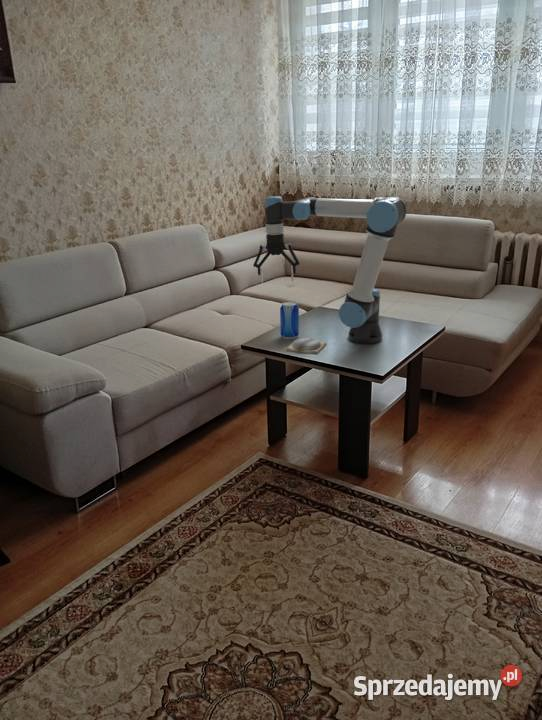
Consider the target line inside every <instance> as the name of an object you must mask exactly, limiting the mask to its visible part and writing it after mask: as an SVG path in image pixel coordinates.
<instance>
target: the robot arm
mask: <svg viewBox="0 0 542 720" xmlns="http://www.w3.org/2000/svg"><path fill="white" fill-rule="evenodd" d="M407 213H408V212H407V205H406V203H405V201H403V199H402V198H400V197H398V196H385V197H380V196H379V197H374V199H364V198H363V199H358V198H357V199H356V198H354V199H353V198H328V197H327V198H324V197H322V198H321V197H318V198H317V197H313V196H306V197H305V198H304V197H303V198H301V199H298V200H295V201H294V200H293V201H289V200H288V201H284V200H283V198H282V196H279V195H275V196H273V195H272V196H266V197H265V198H264V217H265V233H266V235H265V236H266V238H265V239H266V245H265V244H264V245H263V244H260V245H259V250H258V253H257V255H256V258H255V261H254V263H253V267H254V268H257V274H258V276H260V284H263V283H264V278H263V277H264V275H263V264H264V263H265V262H266V260H267V259H268V258H269V257H270V255H271V256H279V255H281V256H283V257H284V258H285V259H286V260H287V261H288V262H289V264H290V265H291V266H290V268H291V270H290V272H291V273H290V274H291V282H294V274H296V270H297V269H296V267H297V266H299V265H300V260H299V259H298V257H297V255H296V254H295V251H294V250H293V247H292V243H290V242H289V243H288V244H285V237H284V233H283V232H284V220H287V221H288V220H289V221H290V220H291V221H292V220H293V221H304V220H305V221H306V220H307V219H309V217H330V218H331V217H333V218H336V217H337V218H357V219H358V218H359V219H366V222H367V223H366V226H365V232H366V233H367V237H366V241H365V245H364V247H363V251H362V253H361V258H360V260H359V264H358V266H357V271H356V274H355V277H354V281H353V284H352V288H350V289H349V290H347V292H346V296H345V299H344V302H343V303H342V304H341V305H340V307H339V309H338V318H339V320H340V321H341V323H342V324H343V325H344V326H346V327H348V328H349V331H348V335H347V336H348V337H347V338H348V340H349V341H350V342H351V343H356V344H364V345H366V344H367V345H368V344H371V345H372V344H376V343H380V342H381V341H382V340H383V331H382V329H381V325H380V307H381V306H380V305H381V303H380V302H381V292H380V291H379V289H376V288H375V286H376V282H377V279H378V276H379V273H380V270H381V267H382V263H383V261H384V257H385V254H386V251H387V248H388V244H389V241H390V240H393V239H394V237H395V235H396V231H397V229H398V226H399V224H401V223H402V222H403V221H405V218H406V216H407ZM285 248H286V249H287V250H288V251H289V252H290V255H291V256H292V258H291V257H290V256H289V255H288V254H287V252H286V251H284V250H285ZM265 249H266V251H267V253H266V254H265V255H264V257H262V259H261V260H260V258H261V255H262V253H263V251H264V250H265ZM293 260H294V261H293ZM259 261H260V262H259ZM258 262H259V263H258Z"/></svg>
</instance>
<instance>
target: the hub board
mask: <svg viewBox="0 0 542 720" xmlns="http://www.w3.org/2000/svg"><path fill="white" fill-rule="evenodd" d="M326 346H327V342H324V341H321V340H319V339H316V338H309V337H306V338H305V337H304V338H303V337H301V338H296V339H294V340H293V342H292V343H290V345H289V346H287V347H286V351H292V352H298V353H299V352H300V353H306V354H307V353H308V354H316V355H318V354H319V353H320V352H321V351H322V350H323V349H324V348H325V347H326Z"/></svg>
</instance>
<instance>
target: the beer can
mask: <svg viewBox="0 0 542 720" xmlns="http://www.w3.org/2000/svg"><path fill="white" fill-rule="evenodd" d="M279 308H280V309H279V315H280V317H279V321H280V336H281V337H282V339H284V340H288V341H289V340H296V339H298V336H299V335H300V312H299V311H300V309H299V306H298V304H297V302H295V301H284V302H282V303H281V306H280V307H279Z"/></svg>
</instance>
